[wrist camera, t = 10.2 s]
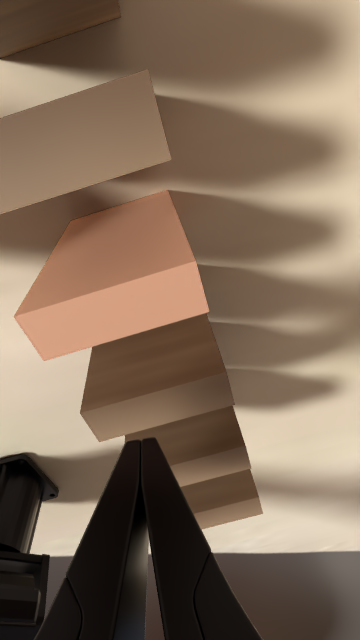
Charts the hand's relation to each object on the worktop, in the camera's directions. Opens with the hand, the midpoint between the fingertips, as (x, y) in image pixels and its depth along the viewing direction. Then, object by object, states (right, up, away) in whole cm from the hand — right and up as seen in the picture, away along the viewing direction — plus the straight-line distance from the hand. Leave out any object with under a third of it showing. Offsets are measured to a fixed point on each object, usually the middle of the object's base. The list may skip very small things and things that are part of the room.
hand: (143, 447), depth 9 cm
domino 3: (-1, +6, +12) cm, 13 cm away
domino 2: (-2, +9, +9) cm, 13 cm away
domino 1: (-3, +13, +7) cm, 15 cm away
